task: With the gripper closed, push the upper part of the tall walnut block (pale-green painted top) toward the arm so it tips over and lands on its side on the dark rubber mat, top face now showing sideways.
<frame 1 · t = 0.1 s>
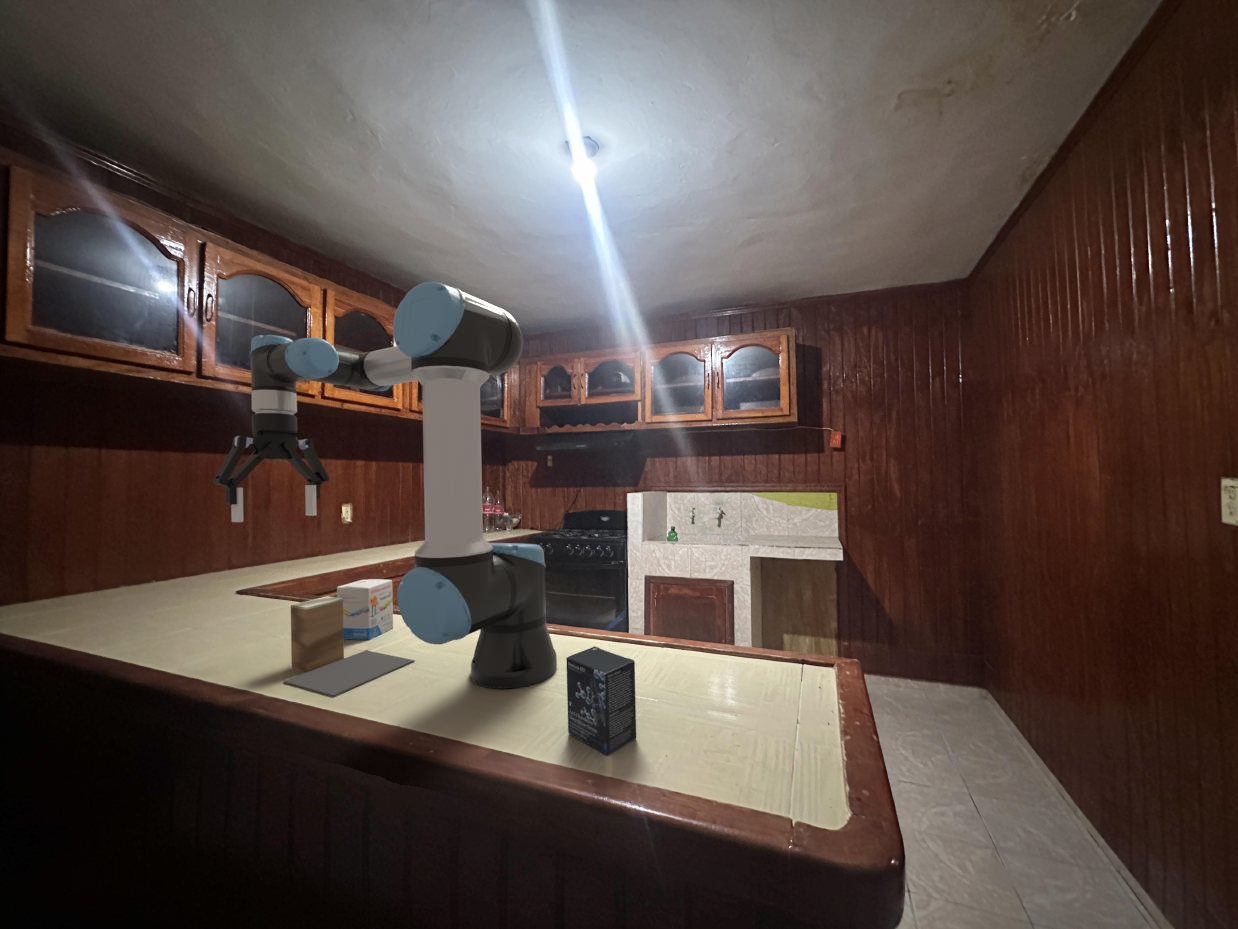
hand: (276, 518, 98), 28 cm above the counter, fingers open, 13 cm apart
block: (318, 664, 94), on the counter
box: (602, 738, 65), on the counter
mat: (351, 671, 89), on the counter
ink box: (366, 634, 112), on the counter
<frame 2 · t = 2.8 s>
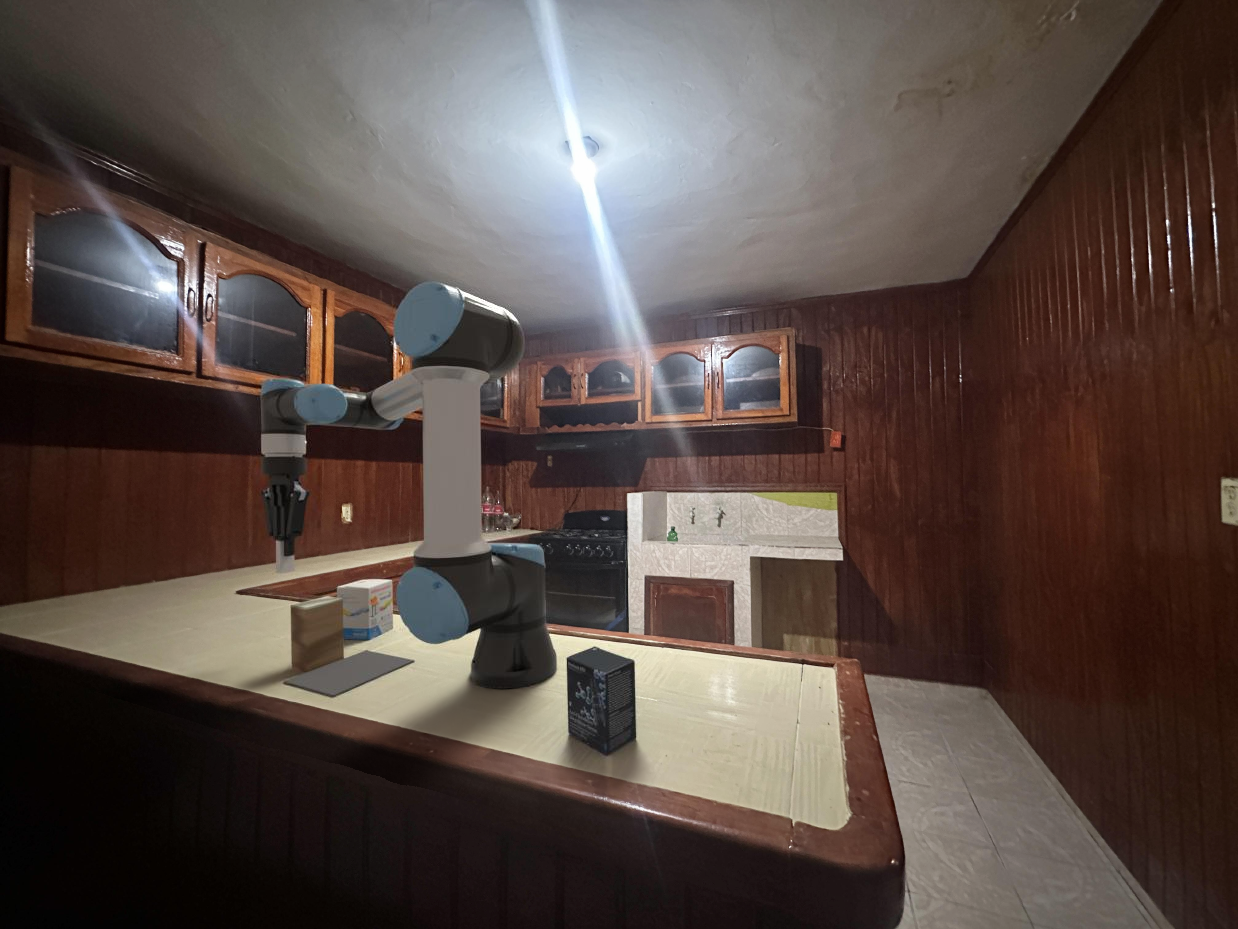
hand: (285, 571, 99), 17 cm above the counter, fingers closed
nothing on the counter moved.
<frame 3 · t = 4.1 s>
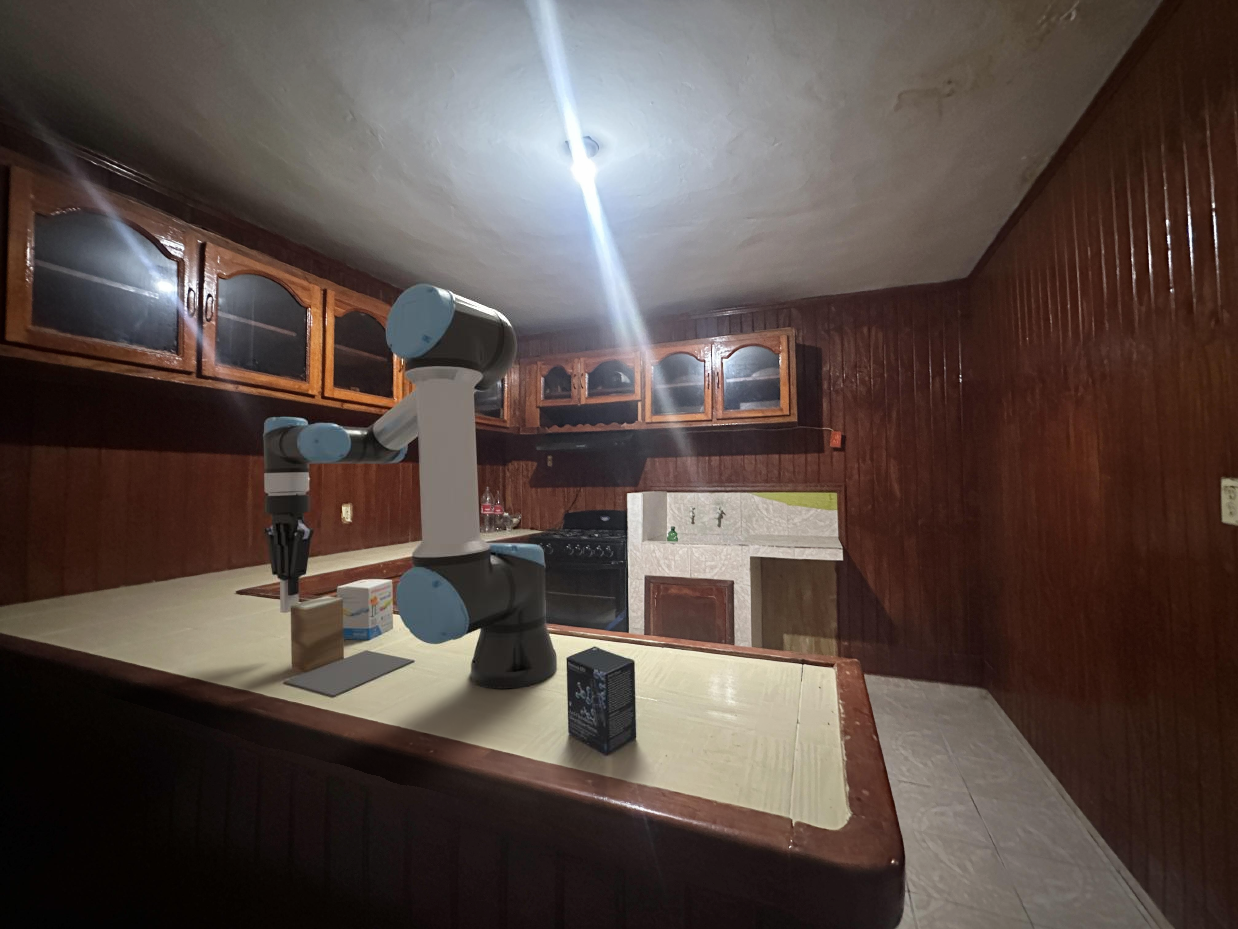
hand: (289, 610, 98), 9 cm above the counter, fingers closed
nothing on the counter moved.
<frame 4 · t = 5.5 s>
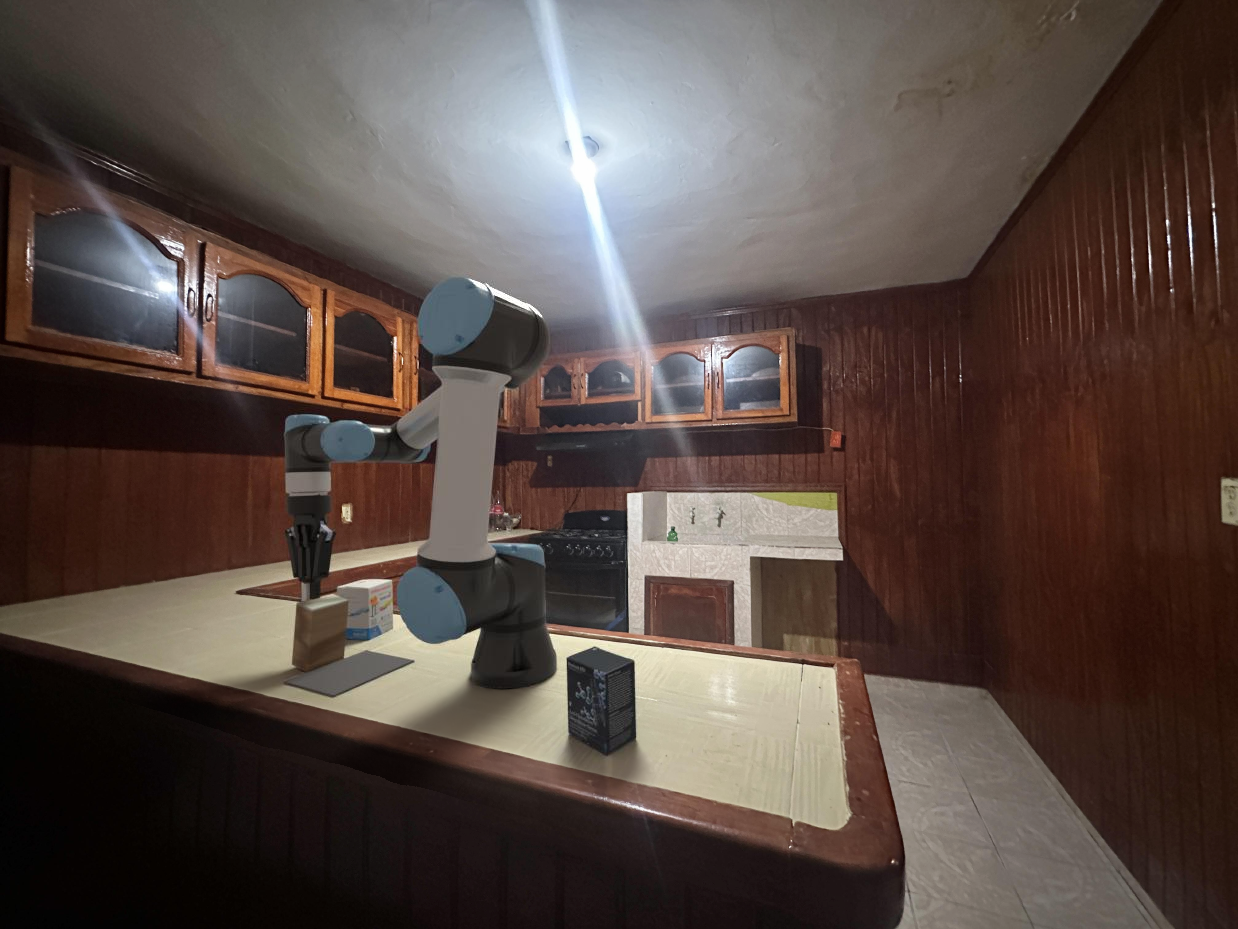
hand: (311, 614, 95), 9 cm above the counter, fingers closed
block: (318, 662, 94), on the counter, tilted 9°, touching gripper
everything else where it was.
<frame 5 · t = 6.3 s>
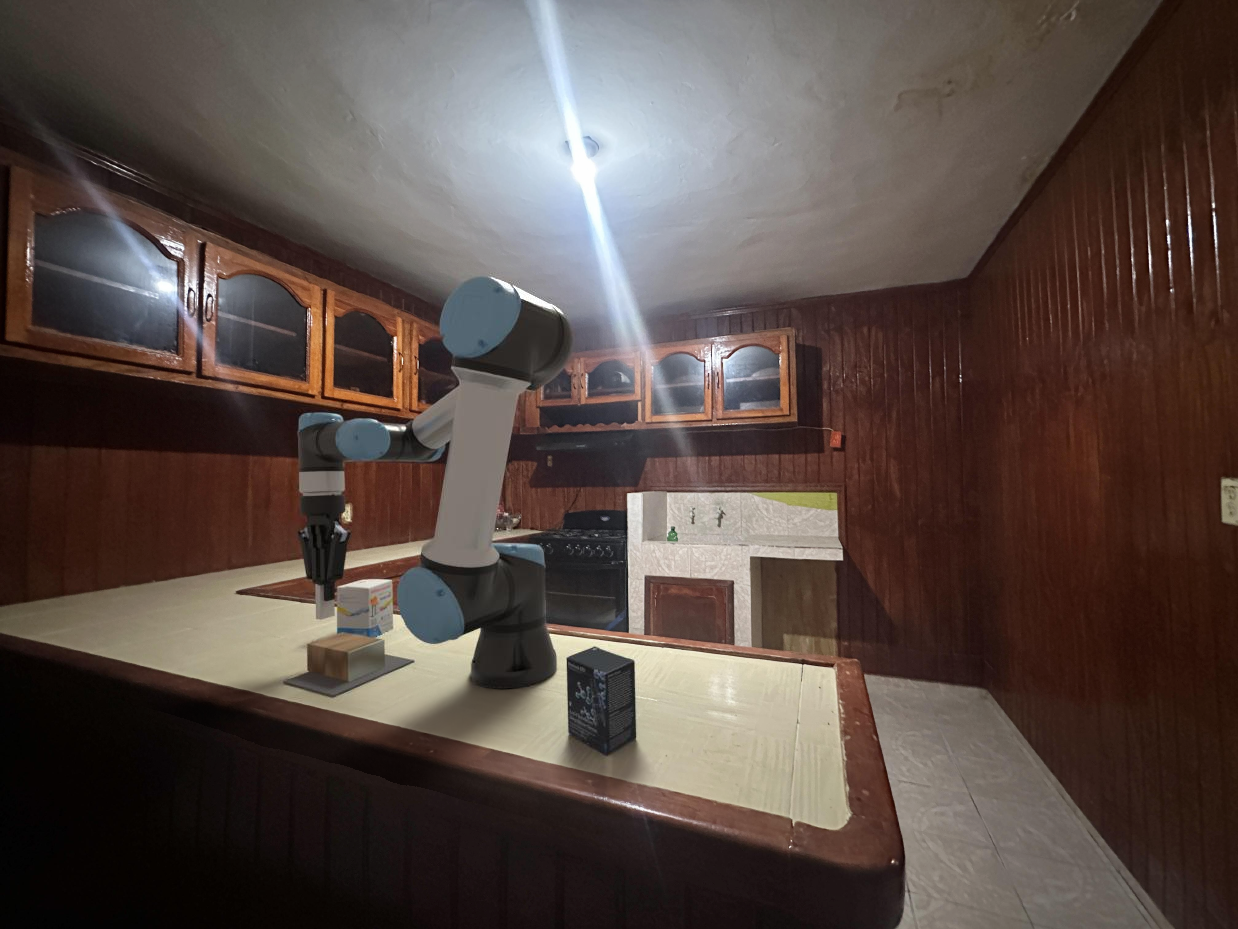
hand: (325, 617, 93), 9 cm above the counter, fingers closed
block: (325, 650, 93), point 3 cm above the counter, tilted 90°, touching mat
everything else where it was.
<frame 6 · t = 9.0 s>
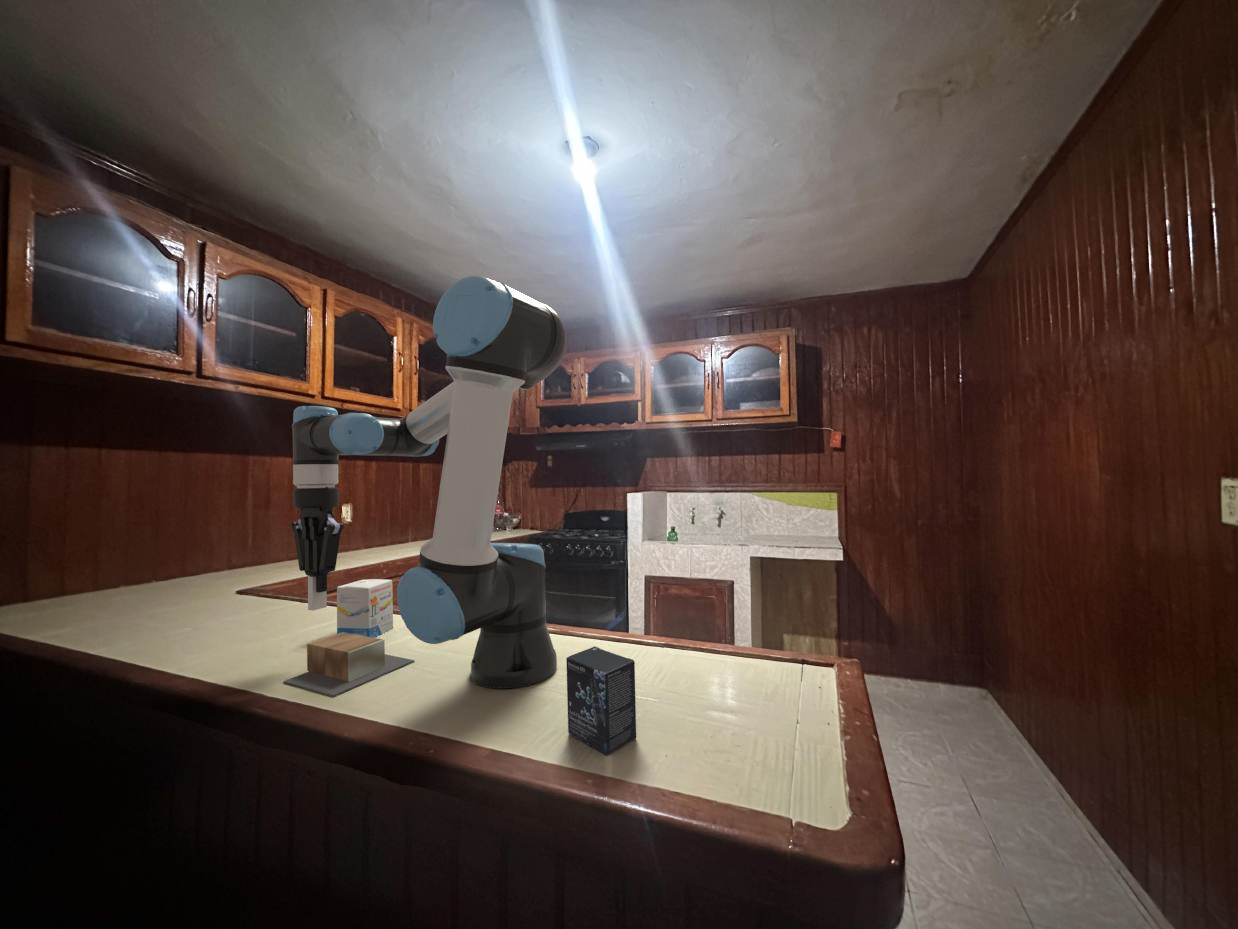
hand: (317, 608, 94), 11 cm above the counter, fingers closed
nothing on the counter moved.
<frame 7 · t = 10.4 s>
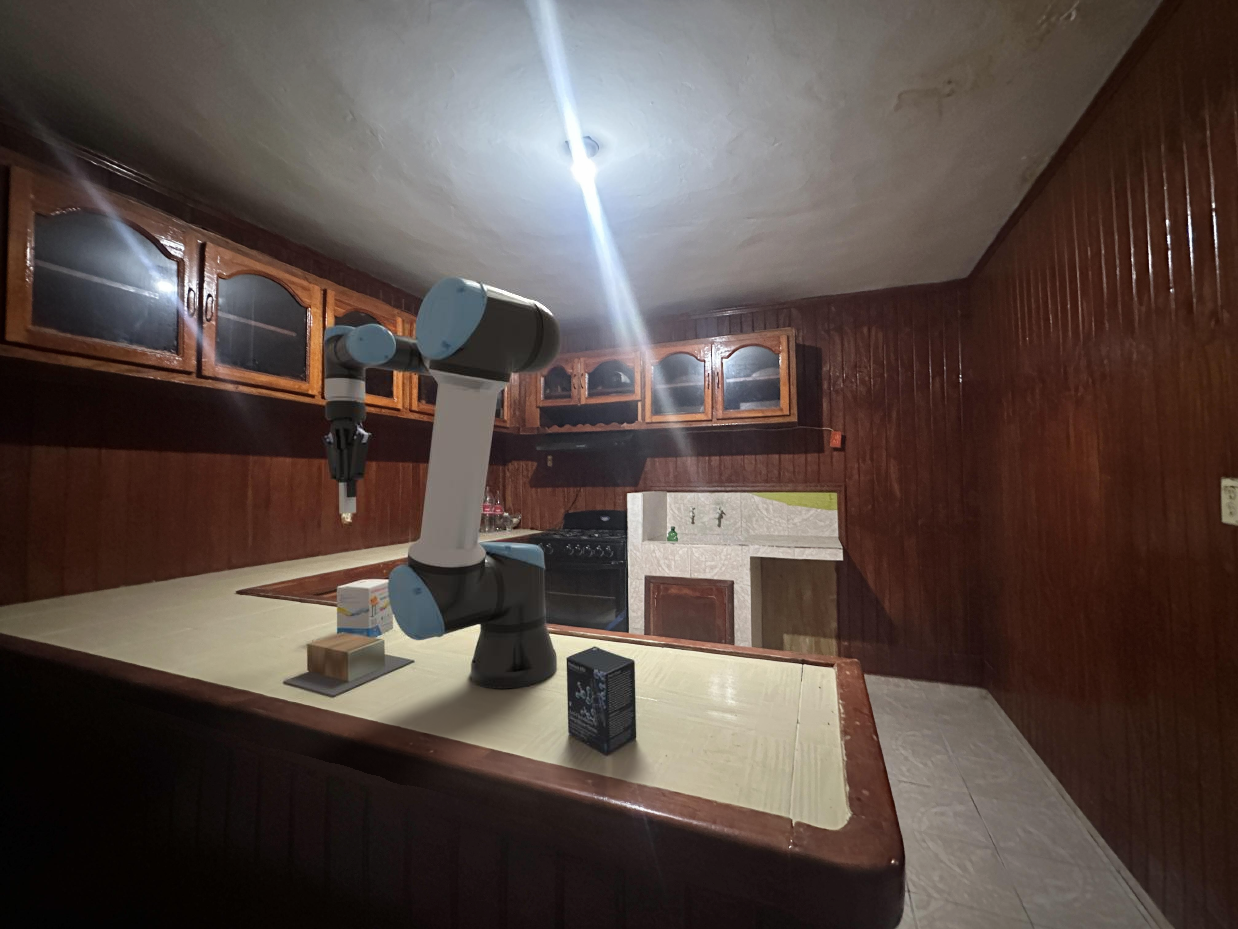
hand: (347, 513, 102), 28 cm above the counter, fingers closed
nothing on the counter moved.
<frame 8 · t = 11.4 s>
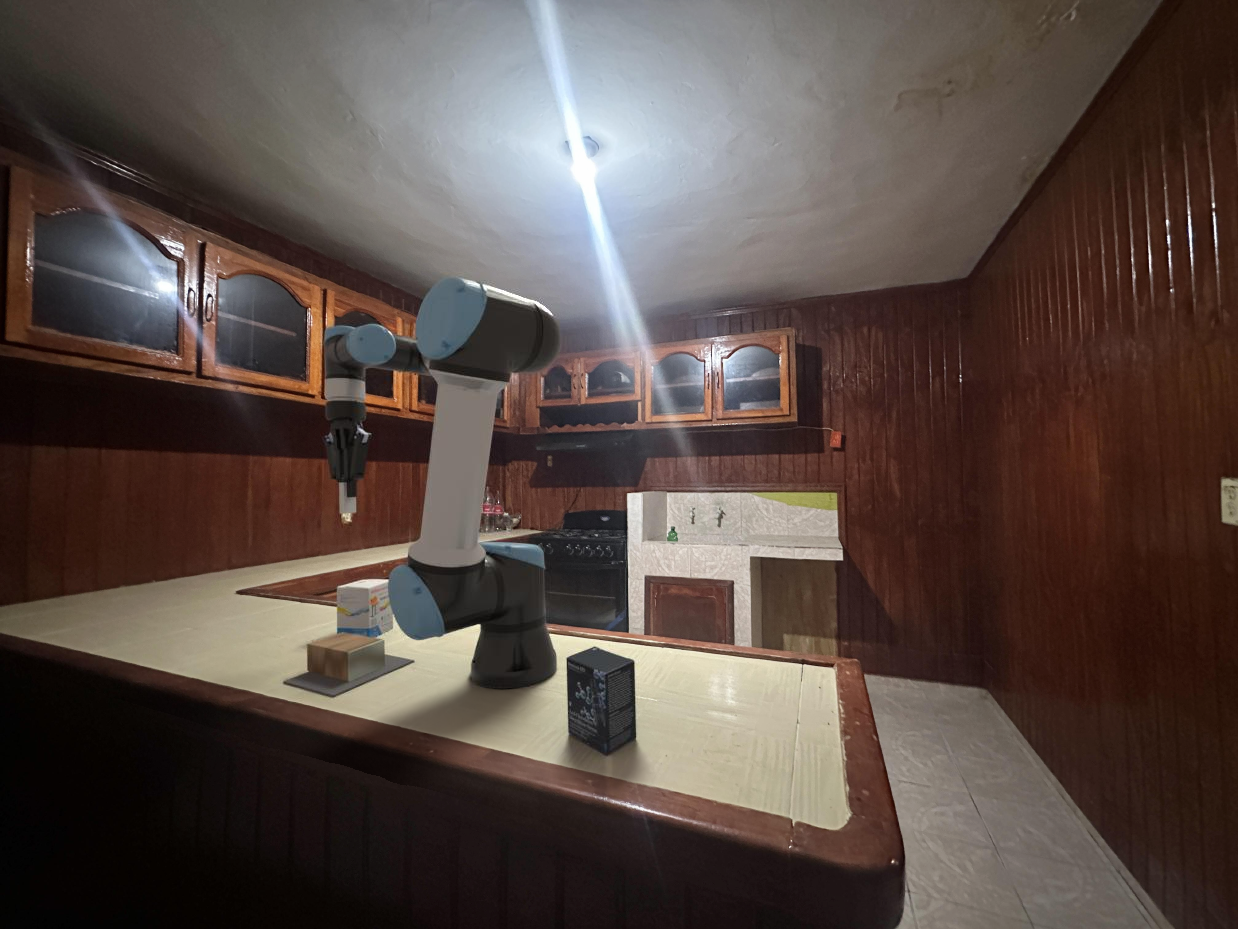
hand: (348, 513, 102), 28 cm above the counter, fingers closed
nothing on the counter moved.
at the end: block tilted 90°; block inside the target area (7.1 cm from its centre), point 2.8 cm above the counter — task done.
